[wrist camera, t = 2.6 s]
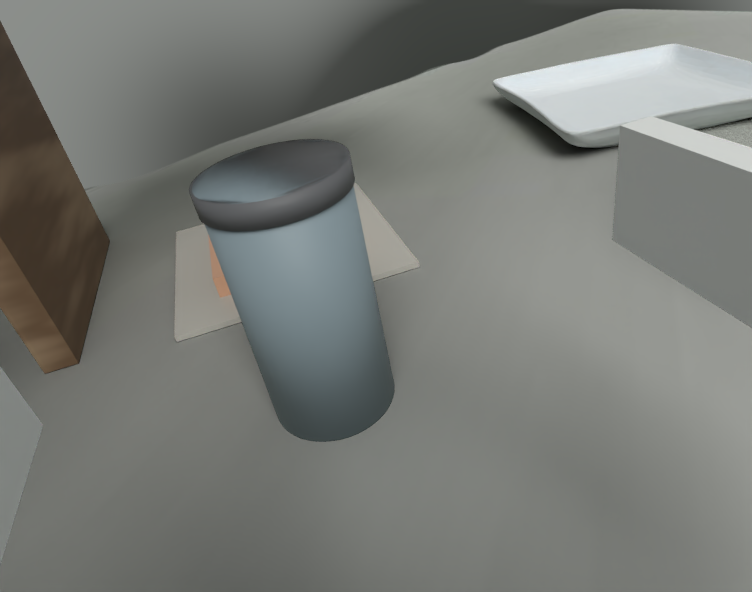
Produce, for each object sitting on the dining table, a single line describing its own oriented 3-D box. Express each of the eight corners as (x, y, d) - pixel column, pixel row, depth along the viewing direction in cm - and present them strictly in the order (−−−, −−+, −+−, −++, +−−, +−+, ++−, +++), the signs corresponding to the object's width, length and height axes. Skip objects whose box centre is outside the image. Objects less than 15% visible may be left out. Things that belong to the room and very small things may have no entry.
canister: (284, 461, 25) (190, 222, 18) (267, 376, 30) (188, 165, 23) (414, 415, 26) (369, 172, 19) (375, 340, 31) (329, 128, 24)
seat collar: (176, 342, 34) (165, 317, 33) (177, 235, 47) (169, 215, 46) (419, 266, 36) (416, 241, 35) (356, 186, 49) (352, 165, 48)
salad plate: (670, 70, 63) (674, 38, 61) (819, 121, 45) (831, 78, 43) (489, 108, 63) (488, 77, 61) (568, 174, 45) (569, 133, 43)
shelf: (45, 373, 33) (-285, -114, 20) (86, 247, 48) (-88, -82, 35) (455, 247, 37) (408, -225, 24) (377, 167, 52) (322, -154, 39)
